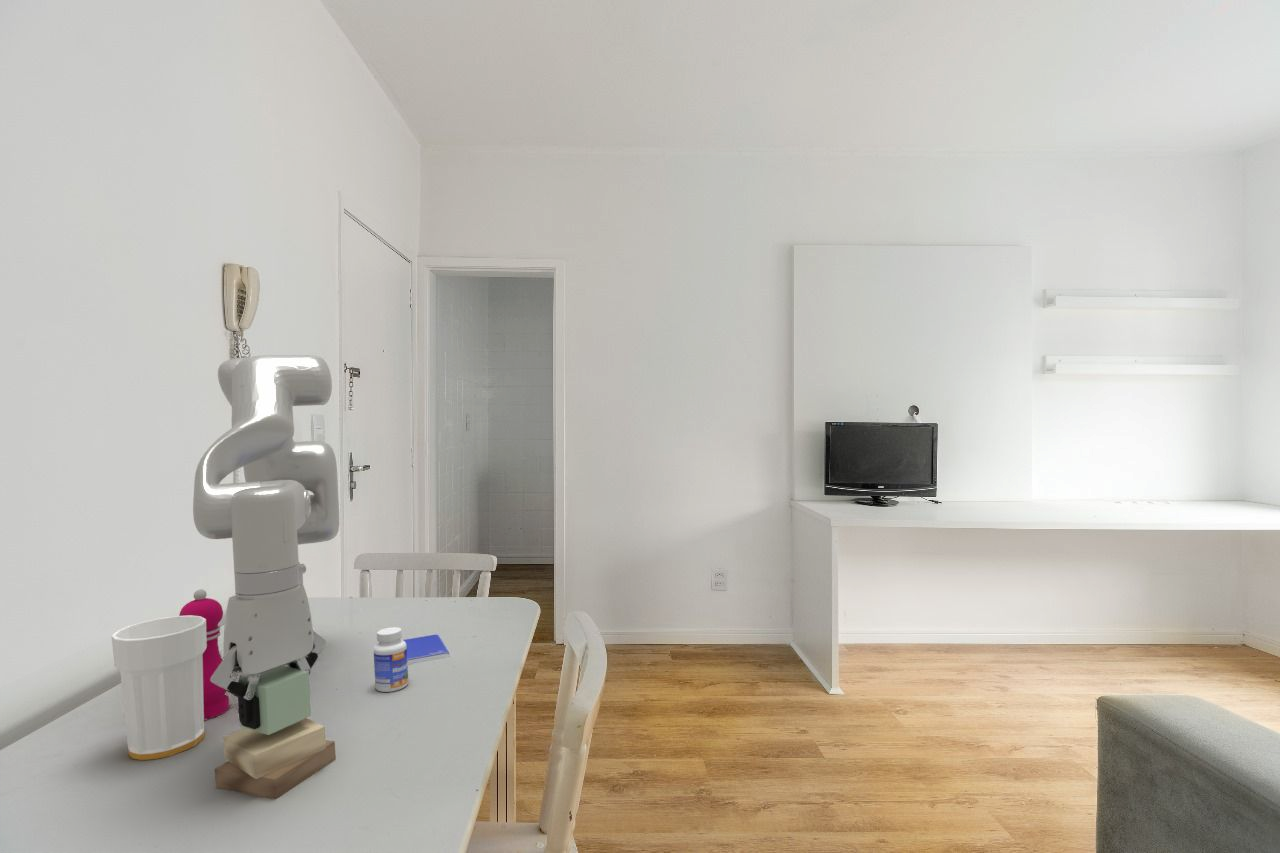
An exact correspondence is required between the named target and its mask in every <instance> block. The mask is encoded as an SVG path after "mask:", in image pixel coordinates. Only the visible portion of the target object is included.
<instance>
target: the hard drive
mask: <svg viewBox="0 0 1280 853" xmlns="http://www.w3.org/2000/svg"><path fill="white" fill-rule="evenodd" d="M402 640H403V641H405V642H406V646H407V665H408V666H409V665H414V664H420V663H425V662H430V661H435V660H440V659H441V660H442V659H447V658H450V657H451V656H450V652H449V650H448V648H447V646H446V645H445V643H444V642H443V640H442V638H441V636H440V635H439V634H431V635H425V636H420V637H413V638H407V639H402Z"/></svg>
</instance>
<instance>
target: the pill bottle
mask: <svg viewBox="0 0 1280 853" xmlns="http://www.w3.org/2000/svg"><path fill="white" fill-rule="evenodd" d="M402 634H403V633H402V628H400V627H394V626H393V627H385V628H382V629H379V630H378V631H377V632H376V640H377V643H376V644H375V645H374V647H373V667H374V686H375V689H376V691H379V692H380V693H381V692H383V693H390V692H396V691H399V690H402V689H404V688H406V687H407V686H408V684H409V669H408V668H409V667H408V666H409V665H407V646H406V642H405V641H403V640H404V639H402V637H403V635H402Z"/></svg>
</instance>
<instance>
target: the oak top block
mask: <svg viewBox="0 0 1280 853" xmlns="http://www.w3.org/2000/svg"><path fill="white" fill-rule="evenodd" d="M325 727H326V726H324V725H322V724H320V723H318V722H316V721H313V720H312V719H310V718H309V717H307V718H305V719H303V720H301V721H298V722H296V723H294V724H292V725H290V726H287V727H285V728H283V729H281V730H279V731H276V732H274V733H272V734H270V735H267V734H263V733H260V732H257V731H254V730H251V729H248V728H245V727H243V728H242V729H239V730H237V731H234V732H231V733H229V734H226V735H224V736H223V738H222V740H223V741H222V743H223V755H224V756H223V757H224V760H226V762H228V761H229V762H230V763H232V764H233V765H235V766H236V767H238V768H239V769H241V770H243V771H244V772H246V773H247V774H249V775H250V776H252V777H253V778H255V779H258V778H260V777H262V776H265V775H267V774H269V773H271V772H274V771H276V770H278V769H281V768H283V767H285V766H288V765H290V764H292V763H294V762H297V761H299V760H301V759H304V758H306V757H308V756H311V755H313V754H315V753H317V752H320V751H322V750H324V749H326V742H325V740H326V729H325Z"/></svg>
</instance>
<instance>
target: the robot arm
mask: <svg viewBox="0 0 1280 853" xmlns="http://www.w3.org/2000/svg"><path fill="white" fill-rule="evenodd" d="M217 379H218V383H219V386H220V389H221V391H222V393H223V395H224V396H225V398H226V400H227V402H228V403H229V405H230V406H231V428H230V429H229V430H227V431H225V433H223V434H222V435H221V436H220V437H218V438H217V439H216V440H215V441H214V442H213V443H212V444H211V445H210V446H209V447H208V448H207V450H206V451H205V452H204V453H203V454H202V457H201V458H200V460H199V462H198V464H197V466H196V471H195V473H194V474H195V475H194V481H193V482H194V483H193V501H192V504H193V505H192V514H193V522H194V525H195V529H196V530H197V532H198V533H199V534H200V535H201V536H202V537H204V538H206V539H210V540H223V539H225V540H227V539H232V556H233V571H234V572H233V574H234V589H235V590H234V591H235V593H234V594H235V595H232V596H230V597H229V598H228V601H227V605H226V611H225V617H224V626H223V658H222V660H223V661H222V662H221V663H220V665H219V666H218V668H217V669H216V671H215V672H214V673H213V675H212V676H211V678H210V681H211V682H212V683H214V684H216V685H217V686H219V687H221V688H223V689H224V690H226V691H227V692H228V693H230V694H232V695H233V696H234V697H236V698H237V706H238V707H237V709H238V720H239V723H240V722H241V724H242V725H243V726H245V727H249V728H252V729H257V728H259V727H260V711H259V698H258V697H255V696H254V695H255V691H256V688H257V684H258V681H259V677H260V674H262V673H264V672H267V671H270V670H273V669H275V668H278V667H281V666H287V667H291V668H295V669H300V670H304V671H308V672H309V676H310V675H312V668H313V666H314V665H315V663H316V662H317V660H318V657H319V654H321V652H322V650H323V649H324V647H325V646H326V644H327V640H326V639H325V638H324V637H323V636H321V635H320V634H318V633H317V632H315V630H313V629H314V628H313V621H312V620H313V619H312V614H311V609H310V608H311V607H310V602H309V599H308V595H307V591H306V589H305V586H304V576H303V575H304V574H305V573H306V572H307V567H306V564H304V563H300V561H299V545H308V544H318V543H323V542H328V541H331V540H333V539H335V537H336V536H338V533H339V530H340V503H339V502H340V501H339V500H340V499H339V482H338V481H339V480H338V466H337V465H338V464H337V460H336V459H337V458H336V454H335V451H334V449H333V448H332V446H331V445H330V444H329V443H327V442H325V441H321V440H310V441H309V440H307V441H294V438H293V437H294V433H295V425H294V412H293V411H294V410H293V407H304V406H305V407H306V406H307V407H308V406H309V407H310V406H324V405H326V404H327V403H328V402H329V400H330V398H331V395H332V389H333V382H332V381H333V380H332V374H331V370H330V368H329V365H328V363H327V361H325V359H324V358H322V357H321V356H317V355H303V354H302V355H295V354H294V355H293V354H292V355H285V354H284V355H275V354H274V355H272V354H271V355H269V354H267V355H256V356H255V355H254V356H250V357H235V358H232V359H231V358H230V359H227V360H225V361H223V362H221V363H220V365H219V367H218V368H217ZM241 468H243V474H244V480H245V481H244V482H243V481H242V482H232V483H231V482H230V483H221V482H222V481H223V480H224V479H225V478H226V477H227V476H228V475H230V474H232V472H233V473H234V471H236V470H239V469H241ZM310 493H312V494H310ZM236 672H237V677H236V680H234V679H232V677H231V678H230V675H231V674H232V673H236ZM245 727H244V728H245Z"/></svg>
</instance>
